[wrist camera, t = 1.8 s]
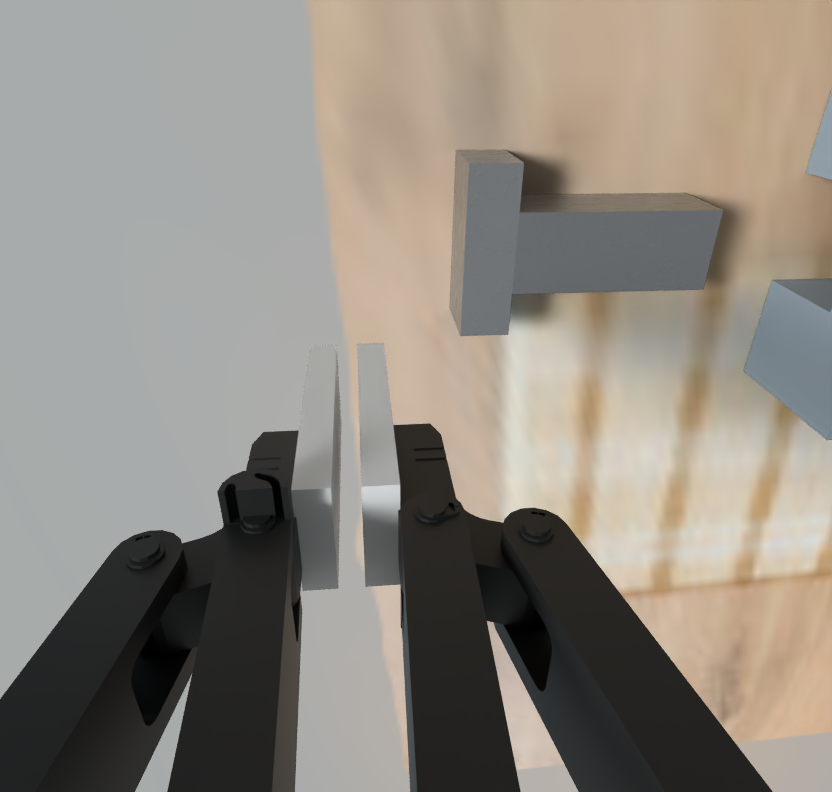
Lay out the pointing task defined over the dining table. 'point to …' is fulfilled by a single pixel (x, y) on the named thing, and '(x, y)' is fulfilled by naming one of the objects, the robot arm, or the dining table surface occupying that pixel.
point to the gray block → (564, 241)
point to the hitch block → (799, 328)
